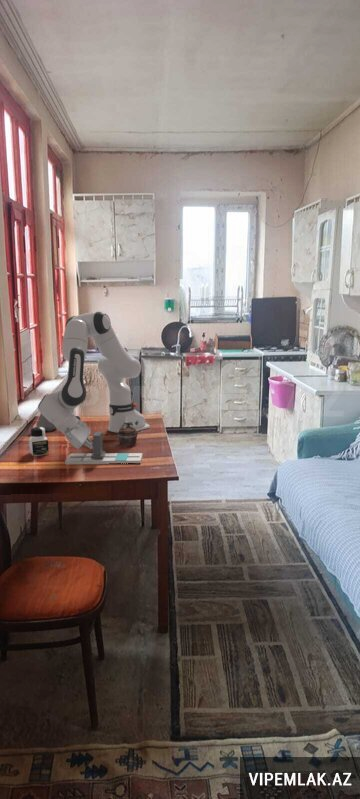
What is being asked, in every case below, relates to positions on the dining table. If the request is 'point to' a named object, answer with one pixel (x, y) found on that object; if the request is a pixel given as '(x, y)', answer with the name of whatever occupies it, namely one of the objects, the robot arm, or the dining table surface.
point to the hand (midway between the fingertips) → (93, 447)
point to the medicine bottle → (38, 442)
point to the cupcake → (127, 434)
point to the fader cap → (98, 446)
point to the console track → (104, 458)
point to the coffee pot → (45, 424)
